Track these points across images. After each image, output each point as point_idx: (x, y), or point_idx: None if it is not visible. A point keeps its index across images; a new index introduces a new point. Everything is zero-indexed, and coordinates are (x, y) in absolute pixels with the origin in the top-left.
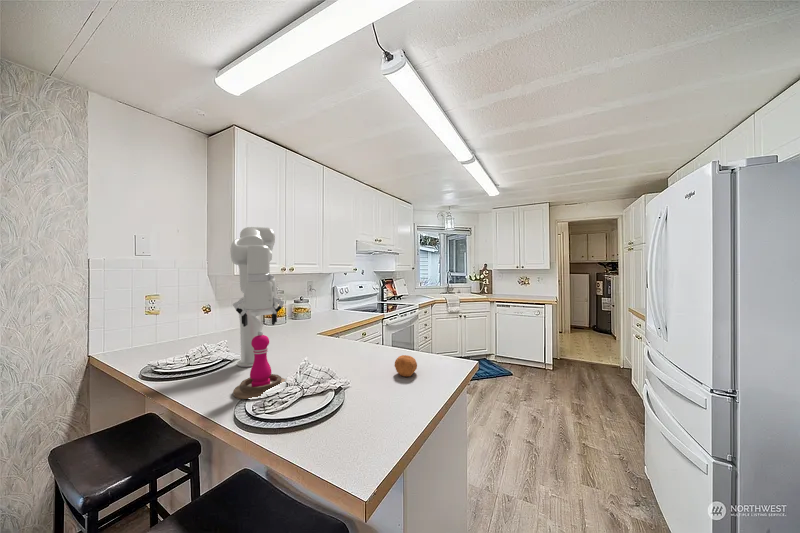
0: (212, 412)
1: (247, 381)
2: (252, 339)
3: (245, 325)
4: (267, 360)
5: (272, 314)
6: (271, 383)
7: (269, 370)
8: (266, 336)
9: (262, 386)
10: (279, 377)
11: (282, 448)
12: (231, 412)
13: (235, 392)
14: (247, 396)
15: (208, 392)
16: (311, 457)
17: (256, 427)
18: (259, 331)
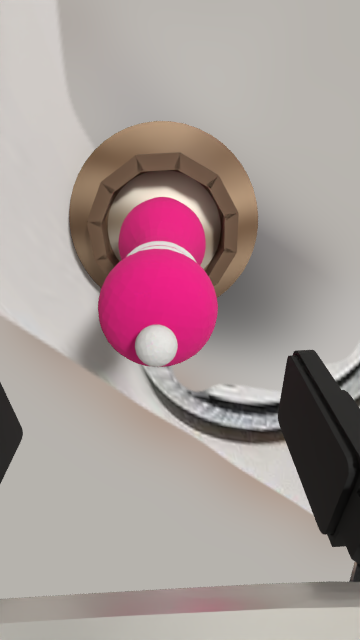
0: (85, 354)
1: (104, 215)
2: (108, 340)
3: (20, 440)
4: (192, 252)
5: (335, 545)
6: (210, 276)
7: (202, 260)
8: (203, 325)
9: None
10: (231, 217)
11: (261, 471)
12: (133, 362)
13: (93, 271)
14: None
15: None
16: (299, 489)
17: (209, 422)
18: (151, 363)
